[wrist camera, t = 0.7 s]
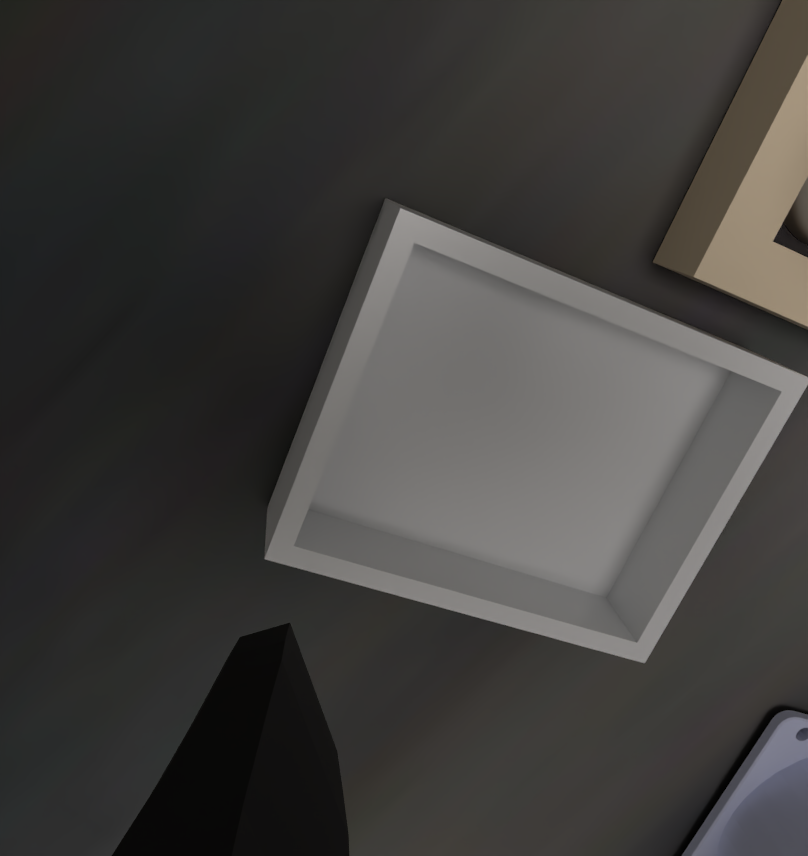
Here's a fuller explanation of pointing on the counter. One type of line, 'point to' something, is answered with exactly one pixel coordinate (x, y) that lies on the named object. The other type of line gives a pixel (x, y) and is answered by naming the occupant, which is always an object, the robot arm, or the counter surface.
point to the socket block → (753, 182)
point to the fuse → (799, 215)
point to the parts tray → (519, 442)
